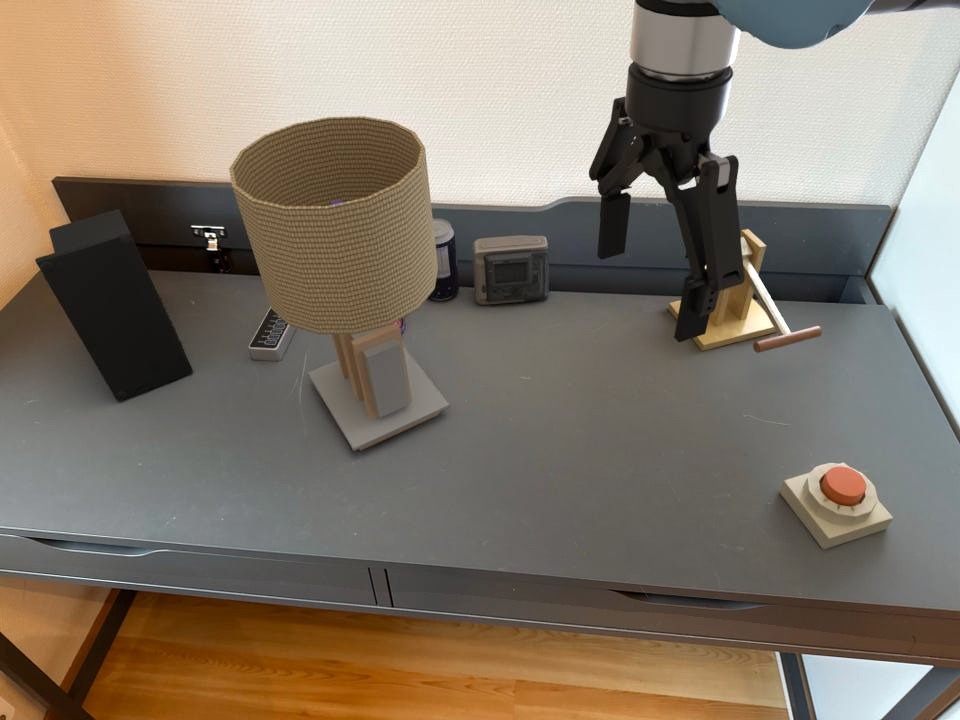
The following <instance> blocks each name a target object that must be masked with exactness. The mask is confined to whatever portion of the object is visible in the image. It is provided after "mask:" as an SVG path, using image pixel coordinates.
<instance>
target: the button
mask: <svg viewBox="0 0 960 720" xmlns="http://www.w3.org/2000/svg"><path fill="white" fill-rule="evenodd" d="M853 469H854V468H853ZM853 469H850V468H847V467H842V466H838V467H833V468H831V469H829V470H828V471H827V473H826V475H825V477H824V479H823V481H822V485H821V486H822V491H823V493H824V494H825V496H826V497H827V498H828V499H830V500H831V501H833V502H834V503H837V504H839V505H844V506H851V505H854V504H856V503H858V502H859V501H860V499H861V498H862V496H863V494H864V492H865V490H866V483H865V480H864V478H863V477H862V476H861V475H860V474H859V473H858V472H856V471H855V470H856V469H855V470H853Z"/></svg>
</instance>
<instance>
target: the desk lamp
mask: <svg viewBox="0 0 960 720" xmlns="http://www.w3.org/2000/svg"><path fill="white" fill-rule="evenodd" d="M426 153H427V152H426V147H425V145H424V143H423V142H422V140H421V139H420V137H419V135H418V134H417V133H416V131H414V130H411V129H410V128H407V127H405V126H403V125H402V124H399V123H397V122H396V121H392V120H388V119H382V118H375V117H371V116H363V115H358V116H357V115H356V116H328V117H327V116H326V117H322V118H317V119H311V120H305V121H301V122H296V123H293V124H290V125H287V126H285V127H281V128H279V129H277V130H275V131H271V132H269V133H266V134H263V135H262V136H261V137H259V138H258V139H256V140H254V141H253V142H252V143H250V144H248V145H247V146H246V147H244V148H243V149H241V150H240V151H239V153H238V154H237V156H236V157H235V159H234V160H233V162H232V164H230V166H229V168H228V171H229V176H230V181H231V187H232V191H233V193H234V197H235V199H236V203H237V207H238V209H239V212H240V215H241V218H242V221H243V225H244V228H245V230H246V234H247V237H248V240H249V243H250V247H251V249H252V252H253V255H254V259H255V262H256V265H257V268H258V271H259V274H260V277H261V281H262V283H263V287H264V290H265V293H266V297H267V300H268V303H269V306H270V307H271V309H272V310H273V311H274V312H275V313H276V314H277V315H279V316H280V317H281V318H282V319H283V320H284V321H285V322H286V323H288V324H289V325H291V326H294V327H297V329H301V330H305V331H308V332H311V333H313V334H317V335H331V338H332V342H333V346H334V349H335V353H336V354H335V355H336V358H337V360H334V361H333V362H330V363H328V364H325V365H323V366H321V367H318V368H316V369H313V370H311V371H308V372H307V375H308V377H309V379H310V380H311V382H312V384H313V385H314V387H315V389H316V391H317V392H318V394H319V395H320V397H321V399H322V400H323V403H324V404H325V405H326V407H327V409H328V410H329V412H330V414H331V415H332V417H333V419H334V420H335V422H336V424H337V425H338V427H339V429H340V431H341V432H342V433H343V434H342V435H344V437H345V439H346V440H347V443H348V444H349V445H350V448H351V449H352V451H353V452H356V451H358V450H359V451H360V452H361V451H363V450H365V449H368V448H369V447H372V446H374V445H376V444H378V443H381V442H383V441H385V440H387V439H389V438H391V437H393V436H396V435H398V434H401V433H403V432H405V431H407V430H409V429H411V428H413V427H416V426H418V425H420V424H422V423H424V422H426V421H428V420H431V419H432V418H435V417H438V416H439V415H440V412H443V411H445V410H446V409H449V408H450V407H451V406H450V403H449V402H448V400H447V399H446V397H444V396H443V394H442V393H441V392H440V391H439V389H438V388H437V386H436V385H435V384H434V383H433V382H432V380H431V379H430V378H429V376H428V375H427V374H426V373H425V372H424V370H423V369H422V368H421V366H420V365H419V363H418V362H417V361H416V360H415V358H414V357H413V356H412V355H411V353H410V352H409V350H407V348H406V347H405V346H404V343H403V337H402V332H401V330H400V327H399V325H398V324H397V323H396V324H393V323H394V322H396V321H398V320H400V319H401V318H403V317H404V318H405V317H406V316H409V315H410V314H412V313H414V312H415V311H418V309H420V307H421V306H422V305H424V303H425V302H426V300H427V299H428V298H429V297H428V296H429V295H430V294H431V293H432V292H433V290H434V289H435V284H436V278H437V272H438V264H437V254H436V245H435V236H434V226H433V219H434V217H433V210H432V209H433V208H432V200H431V191H430V190H431V189H430V181H429V172H428V161H427V154H426ZM391 324H393V325H391ZM389 325H391V326H389Z"/></svg>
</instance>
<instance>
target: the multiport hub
mask: <svg viewBox="0 0 960 720" xmlns="http://www.w3.org/2000/svg"><path fill="white" fill-rule="evenodd" d="M297 329H298V328H297V327H294V326H291V325H289V324H288V323H286V322H285V321H284V320H283V319H282V318H281V317H280V316H279V315H277V314H276V313H275V312H274V311H273V310H272V309H271V306H270V307H269V308H268V310H267V312H266V314H265V315H264V317H263V319H262V321H261V323H260V325H259V327H258V328H257V330H256V332H255V334H254V335H253V337H252V339H251V341H250V342H249V344H248V346H247V347H248V350H249V353H250V356H251V358H252V360H253V361H267V362H280V361H282V360H283V358H284V355H285V354H286V351H287V349H288V348H289V346H290V343H291V342H292V339H293V337H294V335H295V334H296V331H297Z"/></svg>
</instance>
